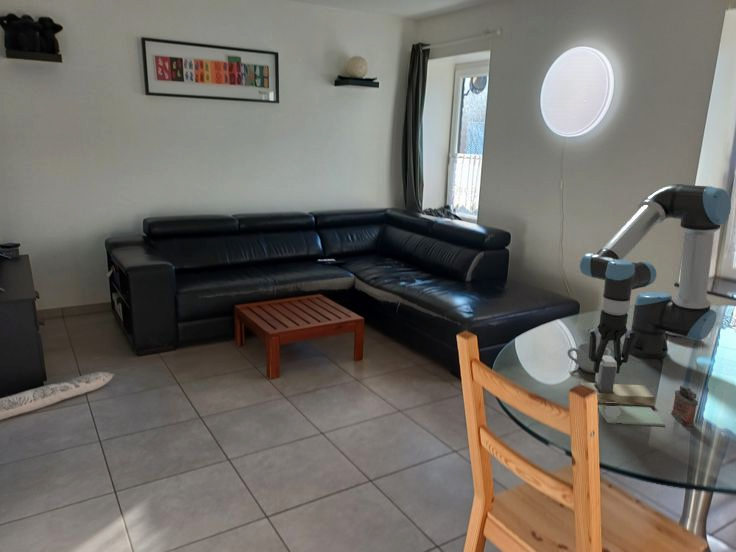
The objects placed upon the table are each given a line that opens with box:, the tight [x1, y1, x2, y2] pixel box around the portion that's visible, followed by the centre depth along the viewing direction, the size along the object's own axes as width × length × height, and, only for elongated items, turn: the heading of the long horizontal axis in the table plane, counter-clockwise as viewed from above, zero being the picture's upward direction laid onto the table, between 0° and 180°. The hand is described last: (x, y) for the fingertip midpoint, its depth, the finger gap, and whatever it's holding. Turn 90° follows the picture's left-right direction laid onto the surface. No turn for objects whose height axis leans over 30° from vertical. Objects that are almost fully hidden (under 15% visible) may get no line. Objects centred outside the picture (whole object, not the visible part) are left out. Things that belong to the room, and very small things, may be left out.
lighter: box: [670, 384, 699, 428], centre depth 159 cm, size 8×3×10 cm, turn 5°
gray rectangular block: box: [594, 355, 617, 393], centre depth 171 cm, size 4×5×12 cm
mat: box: [598, 404, 666, 427], centre depth 162 cm, size 16×10×1 cm, turn 86°
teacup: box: [567, 342, 611, 374], centre depth 193 cm, size 14×11×8 cm
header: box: [579, 382, 656, 407], centre depth 173 cm, size 20×8×3 cm, turn 86°
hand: (604, 381), depth 172 cm, fingers closed on gray rectangular block, 4 cm apart
